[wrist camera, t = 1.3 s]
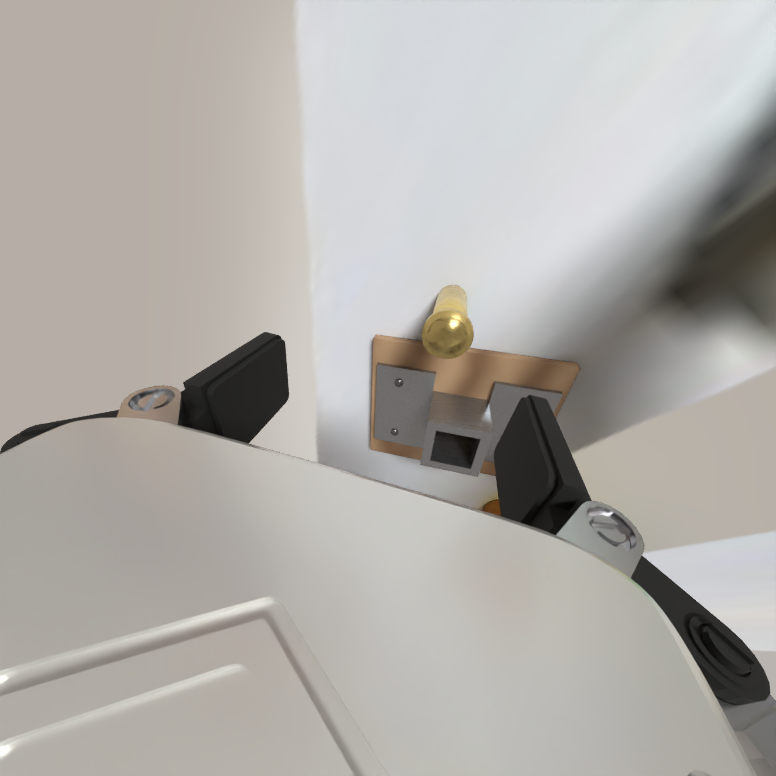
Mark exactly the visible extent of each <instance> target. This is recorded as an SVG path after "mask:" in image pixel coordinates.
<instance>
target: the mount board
mask: <svg viewBox="0 0 776 776" xmlns="http://www.w3.org/2000/svg"><path fill="white" fill-rule="evenodd" d="M378 362H379V363H386V364H392V365H398V366H404V367H411V368H417V369H423V370H430V371H436V377H435V383H434V388H433V391H438V392H444V393H450V394H456V395H461V396H467V397H473V398H479V399H485V400H489V398H490V395H491V392H492V389H493V385H494V382H495V381H499V382H505V383H512V384H518V385H524V386H531V387H537V388H543V389H550V390H556V391H561V392H562V393H563V395H562V397H561V399H560V402H559V404H558V406H557V408H556V410H555V412H554V416H555V418H556V416H557V414H558V412H559V410H560V408H561V406H562V404H563V402H564V400H565V398H566V396H567V394H568V392H569V390H570V388H571V386H572V384H573V382H574V380H575V378H576V376H577V374H578V372H579V370H580V367H579V366H578V364H577V363H573V362H566V361H559V360H552V359H545V358H538V357H530V356H523V355H516V354H509V353H502V352H495V351H488V350H481V349H474V348H469V349H468V350H467V351H466V352H465V353H464V354H462V355H461V356H459V357H456V358H453V359H441V358H438V357H435V356H433V355H432V354H430V353H429V352H428V351H427V350H426V348H425V347H424V345H423V342H422V341H418V340H411V339H404V338H397V337H390V336H383V335H375V337H374V338H373V369H372V407H371V445H370V449H371V450H375V451H380V452H385V453H390V454H394V455H399V456H404V457H409V458H413V459H418V460H421V458H422V452H423V448H419V447H414V446H409V445H404V444H399V443H394V442H389V441H384V440H379V439H374V434H375V407H376V379H377V364H378ZM425 435H426V434H425ZM480 473H485V474H489V475H494V476H496V472H495V464H494V463H492V462H487V461H483V464H482V467H481V470H480Z"/></svg>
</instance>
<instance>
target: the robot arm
mask: <svg viewBox="0 0 776 776" xmlns="http://www.w3.org/2000/svg"><path fill="white" fill-rule="evenodd" d="M183 384H184V387H185V390H184V391H182V392H180V391H179V390H178V389H177V388H174V387H172V386H153V387H148V388H144V389H141V390H138V391H136V392H134V393H132V394H130V395H129V396H128V397H126V398H125V399H124V400H123V402H122V403H121V407H120V409H119V410H116V411H110V412H105V413H100V414H94V415H89V416H83V417H78V418H73V419H68V420H62V421H56V422H51V423H46V424H39V425H35V426H32V427H30V428H27V429H25V430H24V431H22V432H20V433H19V434H17V435H15V436H14V437H12V438H11V439H10V440H8V441H7V442H6V443H5V444H4V445H3V447H2V448H1V451H0V776H776V700H775V699H774V698H773V697H772V696H771V695H770V685H769V681H768V679H767V676H766V674H765V672H764V669H763V668H762V666H761V664H760V663H759V661H758V660H757V658H756V657H755V655H754V654H753V653H752V652H751V650H750V649H749V648H748V647H747V646H746V645H745V643H744V642H743V641H742V640H741V639H740V638H739V637H738V636H737V635H736V634H735V633H734V632H732V631H731V630H730V629H729V628H728V627H727V626H726V625H725V624H723V623H722V622H721V621H720V620H719V619H717V618H716V617H715V616H714V615H713V614H711V613H710V612H709V611H708V610H707V609H705V608H704V607H703V606H702V605H701V604H699V603H698V602H697V601H696V600H695V599H693V598H692V597H691V596H690V595H689V594H687V593H686V592H685V591H684V590H683V589H681V588H680V587H679V586H678V585H677V584H675V583H674V582H673V581H672V580H671V579H669V578H668V577H667V576H666V575H665V574H663V573H662V572H661V571H660V570H659V569H657V568H656V567H655V566H654V565H653V564H651V563H650V562H649V561H648V560H647V559H645V558H644V557H643V556H642V554H643V552H644V542H643V539H642V536H641V535H640V533H639V531H638V530H637V528H636V527H635V526H634V525H633V524H632V523H631V521H630V520H628V519H627V518H626V517H625V516H624V515H623V514H621V513H620V512H619V511H617V510H616V509H614V508H612V507H611V506H608V505H606V504H604V503H601V502H596V501H591V498H590V496H589V494H588V492H587V489H586V487H585V484H584V482H583V480H582V478H581V475H580V473H579V471H578V469H577V466H576V464H575V462H574V460H573V457H572V455H571V453H570V450H569V448H568V446H567V443H566V441H565V439H564V437H563V434H562V432H561V430H560V427H559V425H558V423H557V421H556V418H555V416H554V414H553V412H552V409H551V407H550V405H549V402H548V400H547V399H546V398H542V397H537V396H533V395H528V396H527V397H526V398H525V397H522V398H521V399H520V401H519V403H518V405H517V407H516V409H515V411H514V413H513V414H512V416H511V418H510V420H509V422H508V424H507V426H506V428H505V430H504V432H503V434H502V436H501V438H500V440H499V442H498V444H497V446H496V448H495V450H494V464H495V472H496V481H497V489H498V497H499V505H500V513H501V516H498V515H495V514H491V513H488V512H485V511H481V510H478V509H475V508H471V507H468V506H465V505H461V504H458V503H455V502H451V501H448V500H444V499H441V498H437V497H434V496H431V495H427V494H424V493H420V492H417V491H413V490H410V489H407V488H403V487H400V486H396V485H393V484H389V483H386V482H382V481H379V480H375V479H372V478H368V477H365V476H361V475H358V474H354V473H351V472H347V471H344V470H340V469H337V468H333V467H330V466H326V465H323V464H319V463H316V462H312V461H309V460H305V459H302V458H298V457H295V456H291V455H287V454H284V453H280V452H277V451H273V450H269V449H266V448H262V447H259V446H255V445H252V444H249V443H250V441H251V440H252V439H253V438H254V437H255V436H256V435H257V434H258V433H259V432H260V430H261V429H262V428H263V427H264V426H265V425H266V424H267V423H268V422H269V421H270V420H271V418H272V417H273V416H274V415H275V414H276V413H277V412H278V411H279V409H280V408H281V407H282V406H283V405H284V404H285V403H286V402H287V400H288V397H289V388H288V375H287V362H286V349H285V342H284V340H282V339H281V337H280V336H279V335H275V334H271V333H267V332H264V333H262V334H261V335H259V336H257V337H256V338H254V339H252V340H251V341H249V342H248V343H246V344H244V345H243V346H241V347H239V348H238V349H236V350H235V351H233V352H231V353H230V354H228V355H227V356H225V357H223V358H222V359H220V360H219V361H217V362H215V363H214V364H212V365H211V366H209V367H207V368H206V369H204V370H203V371H201V372H199V373H198V374H196V375H194V376H193V377H191V378H190V379H188V380H186V381H185V382H184V383H183Z"/></svg>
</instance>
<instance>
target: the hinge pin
mask: <svg viewBox="0 0 776 776" xmlns="http://www.w3.org/2000/svg"><path fill="white" fill-rule="evenodd" d="M473 335H474V333H473V326H472V323H471V321H470V319H469V318H468V317H467V296H466V293H465V291H464V290H463V289H462V288H461V287H459V286H457V285H449V286H446V287H444V288H443V289H442V290H441V291H440V293H439V294H438V297H437V301H436V304H435V307H434V311H433V314H432V315H430V316H429V317H428V319H427V320H426V322H425V324H424V326H423V329H422V342H423V345H424V347H425V348H426V350H427V351H428V352H429V353H430V354H432V355H433V356H435V357H438V358H441V359H453V358H456V357H459V356H461V355H462V354H464V353H465V352H466V351H467V350H468V349H469V347H470V346H471V344H472V341H473Z"/></svg>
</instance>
